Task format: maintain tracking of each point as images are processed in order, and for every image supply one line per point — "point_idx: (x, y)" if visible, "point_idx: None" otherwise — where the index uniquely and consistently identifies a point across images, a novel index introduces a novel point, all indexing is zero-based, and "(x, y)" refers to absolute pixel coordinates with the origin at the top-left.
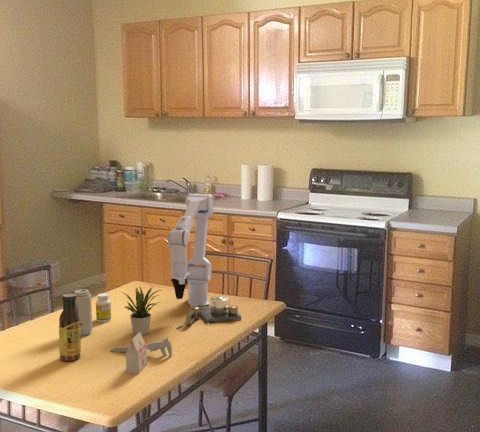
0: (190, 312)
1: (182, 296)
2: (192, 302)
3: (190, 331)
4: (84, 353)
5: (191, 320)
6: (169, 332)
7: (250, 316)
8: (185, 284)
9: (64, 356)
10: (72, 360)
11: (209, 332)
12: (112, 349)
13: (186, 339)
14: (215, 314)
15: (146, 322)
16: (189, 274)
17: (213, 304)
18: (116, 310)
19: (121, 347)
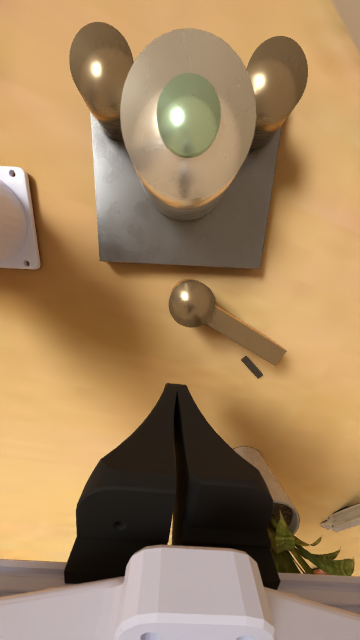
0: (239, 337)
1: (188, 393)
2: (8, 256)
3: (301, 345)
4: (307, 559)
5: (264, 335)
6: (277, 401)
7: (255, 13)
8: (243, 466)
9: None
10: None
11: (343, 290)
12: (328, 527)
13: (356, 373)
14: (217, 210)
15: (285, 493)
16: (269, 615)
17: (211, 200)
18: (35, 486)
19: (355, 525)
